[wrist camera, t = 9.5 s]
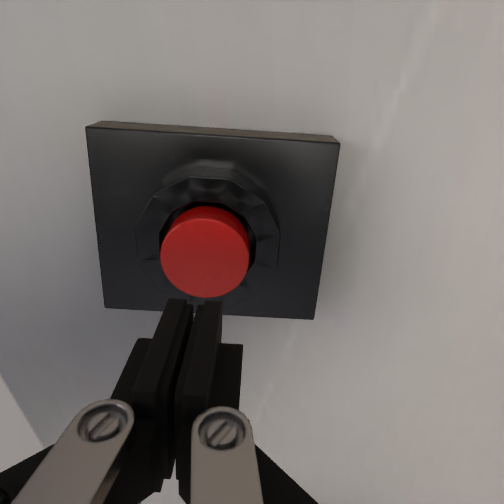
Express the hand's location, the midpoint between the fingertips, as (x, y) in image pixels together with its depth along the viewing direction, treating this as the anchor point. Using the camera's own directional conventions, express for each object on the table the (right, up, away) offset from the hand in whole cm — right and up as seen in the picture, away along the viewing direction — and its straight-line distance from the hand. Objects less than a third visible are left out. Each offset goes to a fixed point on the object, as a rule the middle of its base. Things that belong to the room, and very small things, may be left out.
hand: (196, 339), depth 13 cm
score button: (0, +3, +7) cm, 8 cm away
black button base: (0, +5, +10) cm, 11 cm away
